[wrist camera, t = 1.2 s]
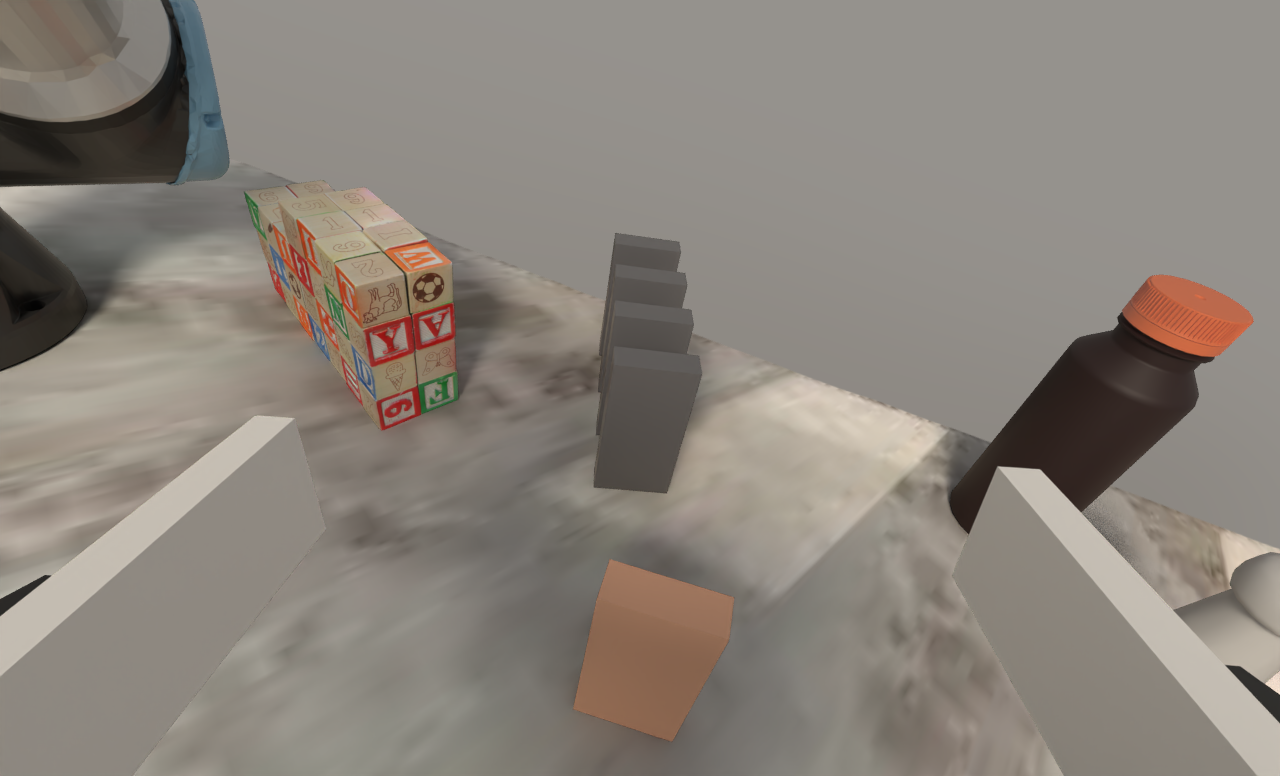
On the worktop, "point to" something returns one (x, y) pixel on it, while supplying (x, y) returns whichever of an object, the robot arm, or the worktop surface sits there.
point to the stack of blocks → (364, 293)
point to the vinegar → (1111, 394)
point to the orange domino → (650, 649)
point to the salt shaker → (1243, 618)
